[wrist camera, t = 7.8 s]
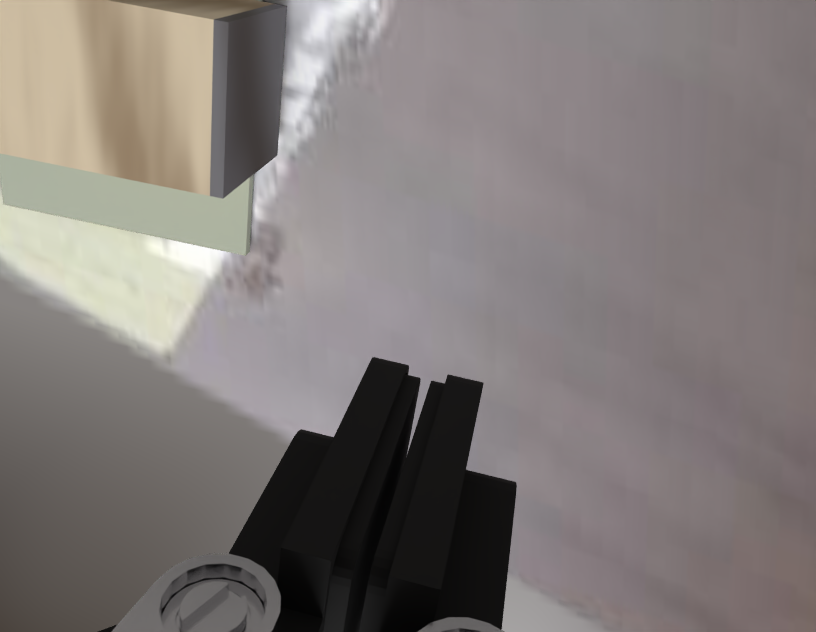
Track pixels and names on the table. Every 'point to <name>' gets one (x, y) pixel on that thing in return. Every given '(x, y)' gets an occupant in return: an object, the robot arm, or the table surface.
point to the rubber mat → (130, 204)
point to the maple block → (144, 88)
